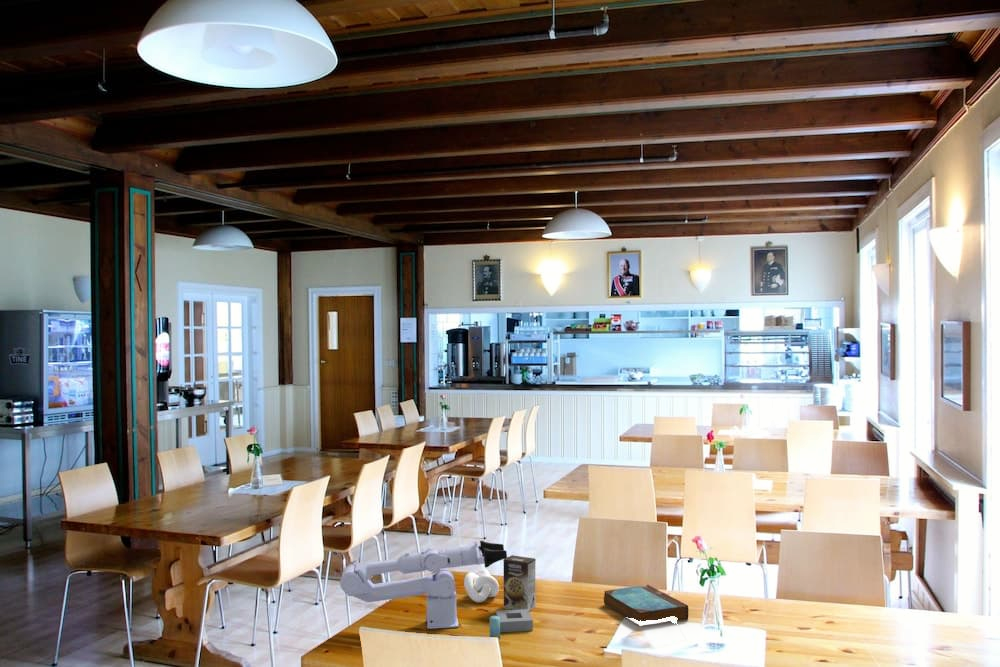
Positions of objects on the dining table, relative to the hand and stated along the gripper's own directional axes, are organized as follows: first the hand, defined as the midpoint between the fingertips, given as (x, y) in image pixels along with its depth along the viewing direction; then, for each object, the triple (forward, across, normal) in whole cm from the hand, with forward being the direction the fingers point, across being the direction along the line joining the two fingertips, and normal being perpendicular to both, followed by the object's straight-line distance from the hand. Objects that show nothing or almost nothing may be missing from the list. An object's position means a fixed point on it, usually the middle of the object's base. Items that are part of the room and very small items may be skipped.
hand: (505, 550), depth 244 cm
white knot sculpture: (-8, +23, +21) cm, 32 cm away
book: (+43, +1, +26) cm, 50 cm away
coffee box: (+4, +11, +22) cm, 25 cm away
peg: (-7, -14, +21) cm, 26 cm away
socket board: (0, -4, +22) cm, 22 cm away
